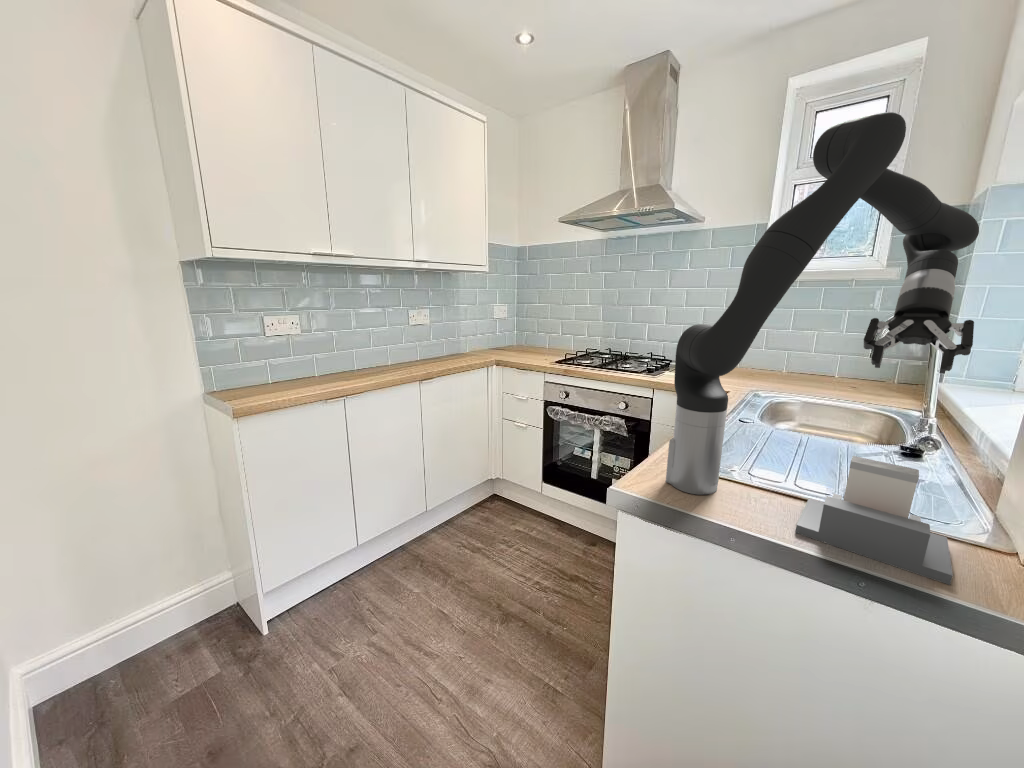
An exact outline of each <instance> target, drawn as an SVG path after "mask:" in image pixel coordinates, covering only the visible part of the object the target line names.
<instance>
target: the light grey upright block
mask: <svg viewBox="0 0 1024 768" xmlns="http://www.w3.org/2000/svg"><path fill="white" fill-rule="evenodd" d="M847 476H848V477H847V481H846V485H845V491H844V496H843V498H842V499H843V501H847V502H851V503H854V504H858V505H862V506H865V507H869V508H872V509H876V510H880V511H883V512H887V513H891V514H894V515H898V516H902V517H905V518H910V512H911V508H912V504H913V500H914V498H915V497H914V496H915V494H916V493H915V492H916V488H917V484H918V481H919V478H920V470H919V469H916V468H912V467H907V466H904V465H903V466H902V465H900V464H893V463H888V462H884V461H880V460H875V459H870V458H865V457H861V456H855V455H852V457H851V460H850V464H849V471H848V475H847Z"/></svg>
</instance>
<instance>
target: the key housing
mask: <svg viewBox="0 0 1024 768" xmlns="http://www.w3.org/2000/svg"><path fill="white" fill-rule="evenodd" d="M842 499H843V495H841V494H837V493H833V494H832V496H829V495H827V496H826V498H825V500H824V501H820V500H817V499H813V498H808V499H807V501H806V504H805V506H804V507H803V510H802V512H801V514H800V516H799V518H798V520H797V522H796V525H795V531H794V533H795V534H798V535H801V536H804V537H807V538H811V539H813V540H816V541H819V542H820V543H821V542H822V543H823V544H824V543H825V544H827V545H829V546H833V547H836V548H839V549H842V550H845V551H848V552H852V553H855V554H857V555H860V556H862V557H866V558H869V559H872V560H875V561H878V562H880V563H884V564H887V565H888V566H889V565H890V566H893V567H896V568H899V569H901V570H905V571H908V572H911V573H914V574H915V575H916V574H917V575H919V576H922V577H926V578H928V579H931V580H934V581H937V582H940V583H943V584H946V585H950V586H951V583H952V580H953V577H954V575H953V569H952V568H953V567H952V561H951V554H950V548H949V542H948V537H946V536H944V535H940V534H937V533H933V532H931V526H930V525H931V524H930V523H927V522H923V521H922V519H921V516H918V515H914V514H910V513H909V517H908V518H905V517H902V516H898V515H894V514H891V513H887V512H883V511H880V510H876V509H872V508H869V507H865V506H862V505H858V504H854V503H851V502H847V501H843V500H842Z"/></svg>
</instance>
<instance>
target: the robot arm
mask: <svg viewBox="0 0 1024 768" xmlns="http://www.w3.org/2000/svg"><path fill="white" fill-rule="evenodd" d="M906 131H907V123H906V121H905V118H904V117H903V116H902V115H901V114H899V113H898V112H891V111H888V112H887V111H886V112H877V113H873V114H869V115H865V116H862V117H858V118H853V119H849V120H847V121H843V122H839V123H836V124H835V125H833V126H830V127H829V128H828V129H826V130H825V131H823V133H821V134H820V136H819V137H818V139H817V141H816V143H815V146H814V148H813V152H812V162H813V166H814V168H815V170H816V172H817V173H818V174H819V175H821V176H822V177H823V178H824V179H825V181H824V182H823V183H822V184H821V185H820V186H819V187H818V188H816V190H814V191H813V192H811V194H809V195H808V196H806V197H805V198H803V199H802V200H801V201H800V202H798V203H797V204H795V205H794V206H793V207H791V208H790V209H788V211H786V212H785V213H784V214H782V215H781V216H779V218H777V219H776V220H775V221H774V222H773V223H772V224H771V225H770V226H769V227H768V228H767V229H766V230H765V231H764V233H763V235H762V236H761V237H760V239H758V241H757V242H756V244H755V245H754V247H753V249H752V250H751V251H750V253H749V254H748V256H747V258H746V260H745V262H744V265H743V268H742V272H741V274H740V275H741V276H740V279H739V285H738V288H737V292H736V293H735V296H734V298H733V300H732V301H731V303H730V304H729V306H728V307H727V308H726V310H724V312H723V313H722V315H721V316H720V317H719V319H717V321H716V322H715V323H714V324H713V325H712V324H707V323H700V324H699V323H698V324H693V325H691V326H689V327H687V328H686V329H685V330H684V331H683V332H682V334H681V335H680V336H679V339H678V342H677V344H676V348H675V349H676V350H675V362H674V367H675V368H674V381H673V382H674V391H675V392H676V404H675V418H674V427H673V436H672V438H671V439H669V441H668V442H669V443H668V450H667V451H668V453H667V461H666V462H667V463H666V474H665V483H668V484H670V485H671V486H672V487H674V488H676V489H677V490H678V491H682V492H684V493H688V494H691V495H698V496H699V495H700V496H701V495H702V496H703V495H704V496H706V495H711V494H714V493H715V492H717V491H718V485H719V479H720V478H719V476H720V469H721V463H722V462H721V461H722V455H723V445H724V437H725V430H726V429H725V428H726V420H727V412H728V404H729V395H728V394H727V392H726V391H725V389H724V387H723V386H722V383H721V379H720V377H723V376H725V375H727V374H729V373H731V372H732V371H733V370H734V369H736V368H737V366H738V365H739V364H740V363H741V361H742V360H743V358H744V357H745V355H746V354H747V353H748V351H749V349H750V347H751V346H752V344H753V342H754V340H755V339H756V337H757V336H758V334H759V332H760V331H761V329H762V328H763V326H764V324H765V322H766V321H767V320H768V318H769V317H770V315H771V314H772V313H773V311H774V310H775V308H776V307H777V306H778V305H779V303H780V302H781V300H782V298H784V296H785V294H786V293H787V292H788V290H789V289H790V288H791V286H792V285H793V284H794V283H795V281H796V280H797V279H798V278H799V277H800V276H801V274H802V273H803V271H804V270H805V269H806V268H807V266H808V265H809V263H810V262H811V261H812V260H813V258H814V257H815V255H816V254H817V253H818V251H819V250H820V248H821V247H822V246H823V244H824V243H825V241H826V240H827V239H828V237H829V236H830V235H831V234H832V233H833V231H834V230H835V228H836V227H837V226H838V225H839V224H840V222H841V221H842V220H843V218H844V217H845V216H846V215H847V213H849V211H850V210H851V209H852V208H853V206H855V204H856V203H857V202H858V201H859V199H861V200H862V201H864V202H866V204H868V205H870V206H871V207H872V208H874V209H875V210H876V211H877V212H878V213H880V214H881V215H882V216H883V217H884V218H885V219H886V220H887V221H888V222H889V223H891V224H892V226H893V227H895V229H896V230H897V231H898V232H899V233H902V234H903V235H904V237H903V239H902V246H903V250H904V253H905V256H906V262H907V268H906V269H907V270H906V273H905V277H904V281H903V283H902V285H901V287H900V290H899V293H898V298H897V302H896V306H895V308H894V309H895V310H894V314H893V316H892V319H891V320H889V321H883V320H881V321H880V319H879V318H877V317H874V318H871V319H870V322H869V324H868V327H867V329H866V332H865V335H864V338H863V349H865V350H872V355H871V359H870V361H871V362H870V363H871V365H873V366H874V368H876V369H880V368H881V365H882V361H883V357H884V354H885V353H884V352H885V351H886V350H888V349H889V348H893V347H895V346H897V345H898V344H900V343H902V344H904V345H912V344H916V345H919V346H921V345H922V346H926V345H927V344H930V345H931V346H932V347H933V348H934V349H935V350H937V351H939V352H940V353H942V357H941V364H940V368H939V374H946V372H950V371H951V370H952V369H953V365H954V360H955V357H956V356H960V355H962V356H969V355H970V354H971V352H972V347H973V344H974V328H975V322H974V320H972V319H967V320H964V321H963V322H953V323H952V322H951V321H950V316H951V311H952V305H953V301H954V299H955V290H956V285H955V284H956V282H955V281H956V276H957V271H958V266H959V258H958V257H957V255H956V254H955V253H954V252H955V251H958V250H963V249H964V248H967V247H969V246H971V245H972V244H973V243H975V241H976V240H977V238H978V236H979V234H980V227H979V226H980V225H979V222H978V221H977V219H976V218H974V216H973V215H971V214H970V213H968V212H967V211H964V210H963V209H960V208H958V207H955V206H952V205H950V204H947V203H946V202H942V201H941V200H940V199H939V198H938V196H936V194H935V193H934V192H932V190H931V189H930V188H929V187H928V186H926V184H924V183H922V182H921V181H919V180H917V179H915V178H912V177H910V176H908V175H905V174H902V173H901V172H900V173H899V172H897V171H894V170H892V169H889V166H890V165H891V164H892V162H893V161H894V160H895V159H896V157H897V155H898V153H899V152H900V149H901V148H902V145H903V144H904V140H905V137H906ZM885 329H887V330H888V332H887V333H885V335H884V336H882V337H881V338H879V339H878V340H875V338H876V336H877V334H880V333H881V332H882V331H883V330H885ZM951 331H953V332H954V333H955V335H956V336H958V337H960V343H958V344H955V342H953V341H952V340H951V339H950V338H949V335H947V334H948V333H949V332H951Z"/></svg>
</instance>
